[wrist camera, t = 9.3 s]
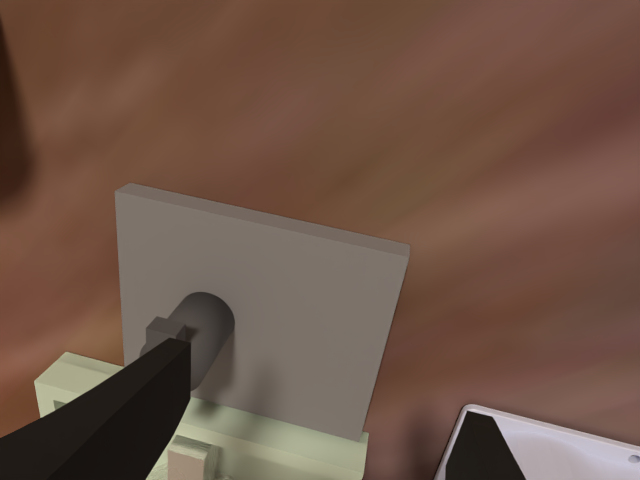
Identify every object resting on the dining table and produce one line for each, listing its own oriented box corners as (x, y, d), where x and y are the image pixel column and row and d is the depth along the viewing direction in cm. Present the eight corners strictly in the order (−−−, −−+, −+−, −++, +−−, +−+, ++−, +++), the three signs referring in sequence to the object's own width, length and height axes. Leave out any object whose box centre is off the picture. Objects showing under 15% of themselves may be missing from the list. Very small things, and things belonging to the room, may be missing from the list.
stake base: (409, 244, 20) (406, 319, 15) (361, 424, 25) (346, 525, 20) (129, 182, 21) (40, 231, 16) (137, 364, 26) (70, 444, 21)
